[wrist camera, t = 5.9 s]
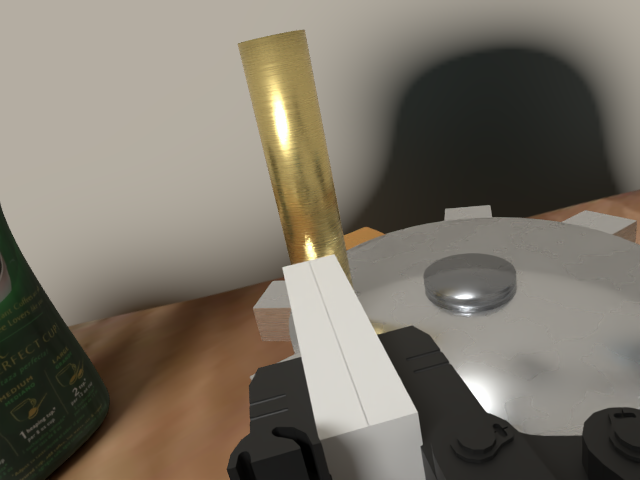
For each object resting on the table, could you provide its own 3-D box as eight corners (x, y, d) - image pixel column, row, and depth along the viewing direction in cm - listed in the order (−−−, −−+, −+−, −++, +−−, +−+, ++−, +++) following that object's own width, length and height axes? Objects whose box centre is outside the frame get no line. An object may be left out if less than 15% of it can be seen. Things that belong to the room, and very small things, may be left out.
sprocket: (543, 211, 32) (542, -12, 27) (982, 423, 13) (1270, -196, 8) (254, 282, 31) (192, 61, 25) (273, 639, 12) (41, 52, 6)
